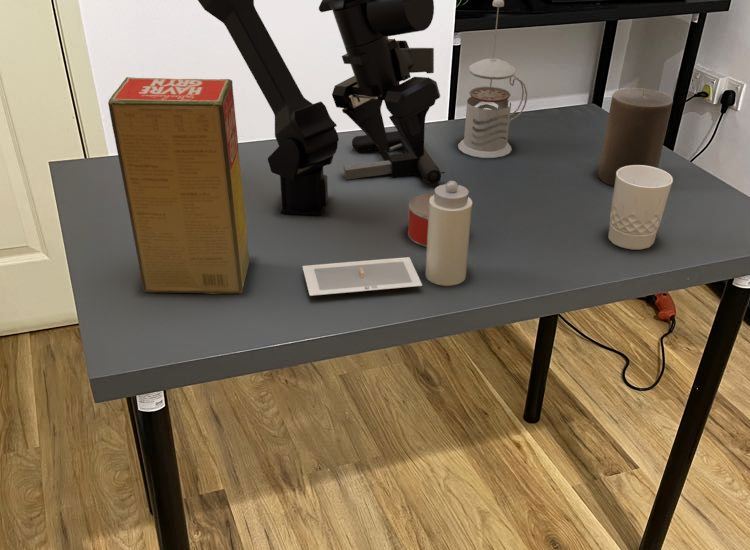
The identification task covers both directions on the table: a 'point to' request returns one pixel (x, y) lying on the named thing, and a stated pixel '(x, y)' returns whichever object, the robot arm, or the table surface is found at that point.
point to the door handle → (393, 161)
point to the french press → (484, 137)
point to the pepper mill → (448, 234)
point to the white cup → (638, 205)
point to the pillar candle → (634, 130)
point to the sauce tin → (419, 219)
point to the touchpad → (360, 276)
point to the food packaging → (182, 183)
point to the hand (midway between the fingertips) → (402, 153)
